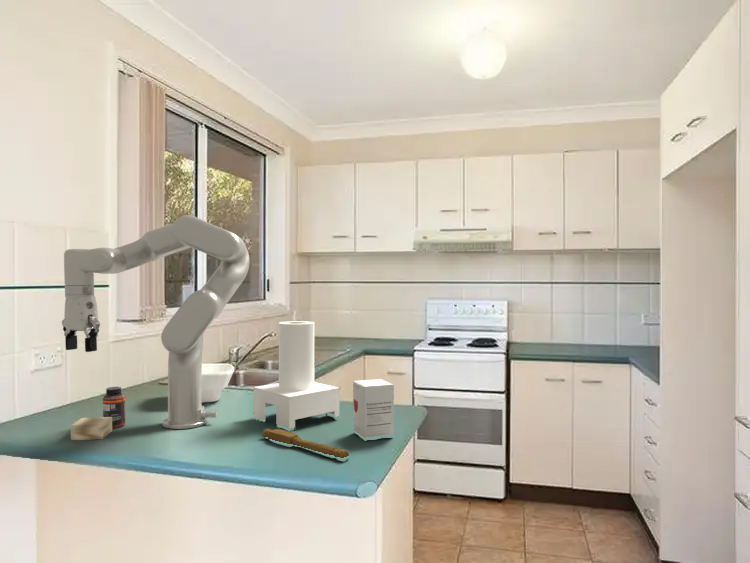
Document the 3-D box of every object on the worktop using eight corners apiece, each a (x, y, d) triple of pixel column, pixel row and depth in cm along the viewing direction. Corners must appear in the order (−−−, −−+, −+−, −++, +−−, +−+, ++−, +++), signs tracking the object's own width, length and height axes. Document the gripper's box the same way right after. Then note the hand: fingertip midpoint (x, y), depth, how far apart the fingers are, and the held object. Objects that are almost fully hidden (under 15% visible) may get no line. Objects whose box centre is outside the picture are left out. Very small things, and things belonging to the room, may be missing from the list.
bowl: (164, 410, 181) (164, 375, 181) (172, 396, 203) (172, 364, 202) (233, 407, 186) (233, 372, 186) (234, 393, 208) (234, 362, 208)
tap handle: (341, 451, 131) (259, 428, 150) (341, 464, 131) (259, 439, 150) (349, 448, 133) (268, 426, 152) (349, 461, 134) (268, 437, 152)
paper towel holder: (302, 409, 184) (302, 319, 183) (339, 419, 170) (339, 322, 170) (253, 419, 170) (253, 322, 170) (289, 431, 157) (289, 326, 157)
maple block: (112, 430, 157) (112, 416, 157) (102, 439, 149) (102, 424, 149) (82, 431, 156) (82, 417, 156) (70, 440, 148) (70, 425, 148)
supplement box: (351, 433, 156) (352, 380, 156) (380, 429, 160) (381, 378, 159) (363, 442, 148) (364, 386, 147) (394, 438, 151) (394, 383, 151)
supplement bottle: (119, 422, 166) (119, 384, 166) (129, 425, 162) (129, 387, 162) (99, 426, 161) (99, 387, 161) (108, 430, 158) (108, 390, 157)
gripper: (109, 291, 159) (111, 350, 159) (75, 291, 168) (76, 347, 168) (84, 292, 152) (86, 353, 153) (50, 292, 161) (51, 350, 162)
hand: (81, 350), depth 160 cm, fingers open, 9 cm apart
